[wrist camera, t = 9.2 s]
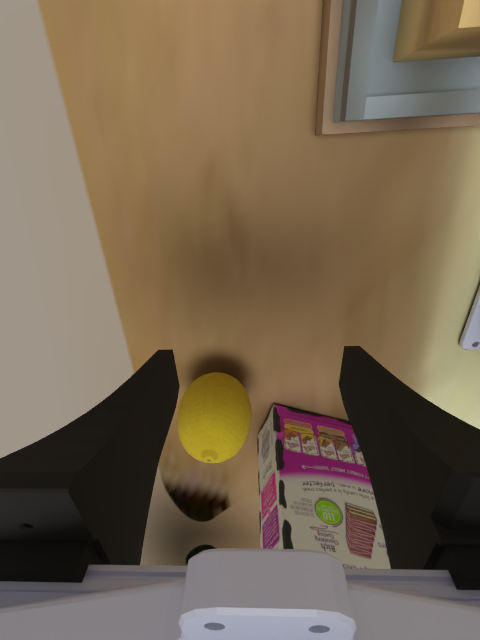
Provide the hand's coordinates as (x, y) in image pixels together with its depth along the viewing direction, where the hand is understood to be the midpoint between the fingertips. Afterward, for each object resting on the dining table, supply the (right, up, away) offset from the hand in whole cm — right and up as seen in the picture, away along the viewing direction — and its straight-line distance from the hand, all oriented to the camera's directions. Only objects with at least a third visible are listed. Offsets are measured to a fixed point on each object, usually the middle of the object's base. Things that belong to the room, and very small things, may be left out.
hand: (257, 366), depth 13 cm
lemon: (-3, -3, +14) cm, 15 cm away
